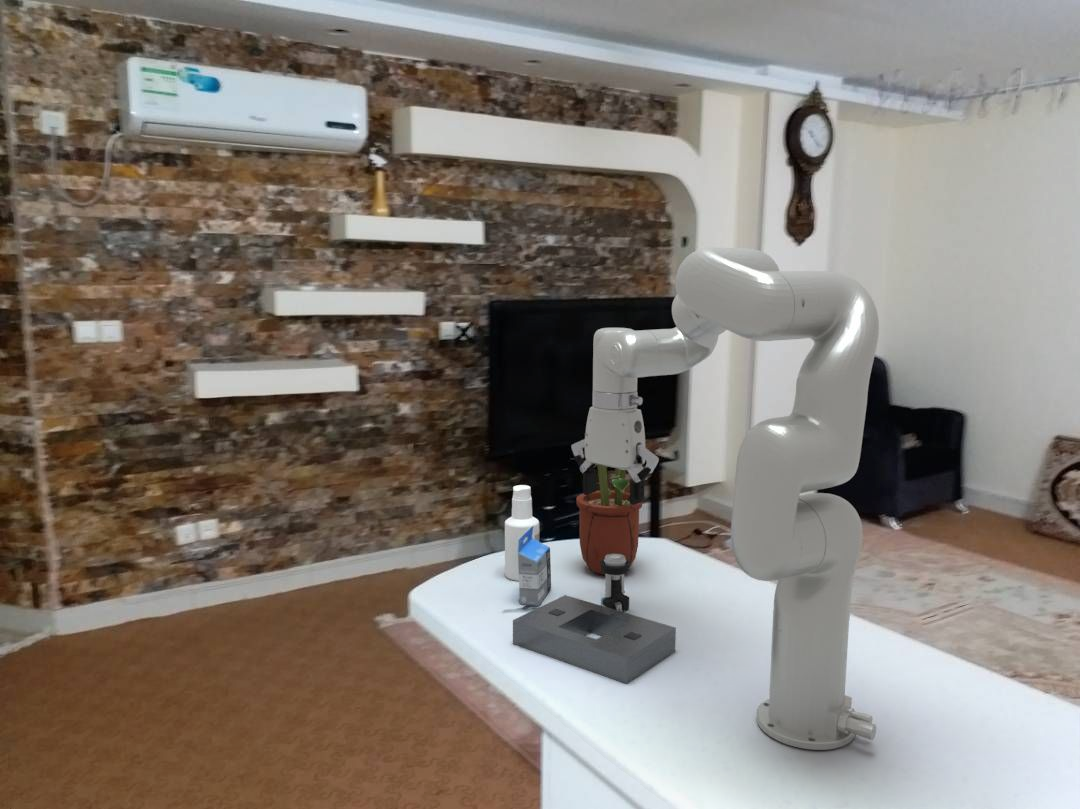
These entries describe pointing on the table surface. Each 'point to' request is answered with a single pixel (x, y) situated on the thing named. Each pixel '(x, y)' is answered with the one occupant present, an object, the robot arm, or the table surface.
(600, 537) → the potted plant
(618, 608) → the push button
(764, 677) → the table surface
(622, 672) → the gray pocketed block
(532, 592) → the label tape box
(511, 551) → the spray bottle
